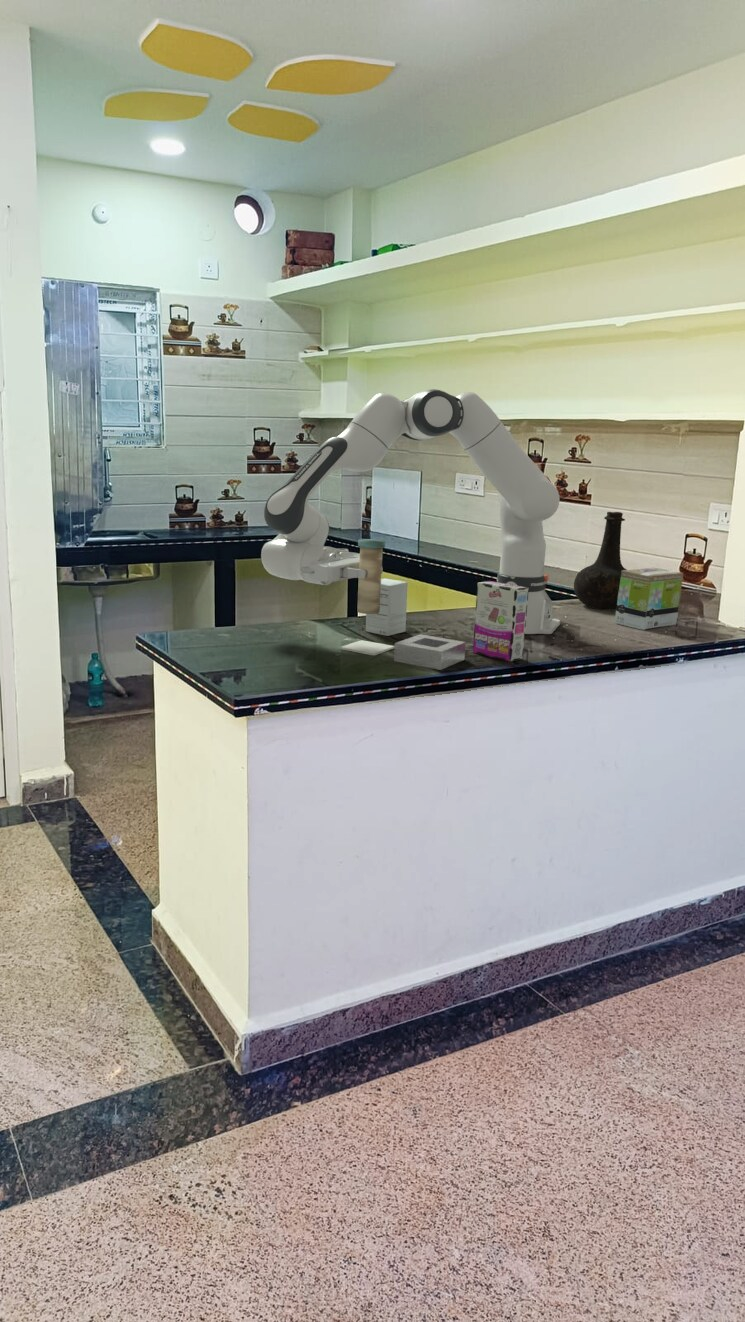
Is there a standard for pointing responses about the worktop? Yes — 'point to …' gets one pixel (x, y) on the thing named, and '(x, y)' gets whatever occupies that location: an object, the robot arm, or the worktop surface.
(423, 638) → the metal collar
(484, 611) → the candy bar box
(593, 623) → the worktop surface
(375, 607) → the birch stopper
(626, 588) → the tea box
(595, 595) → the glass bottle
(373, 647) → the white mat
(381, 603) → the supplement box
